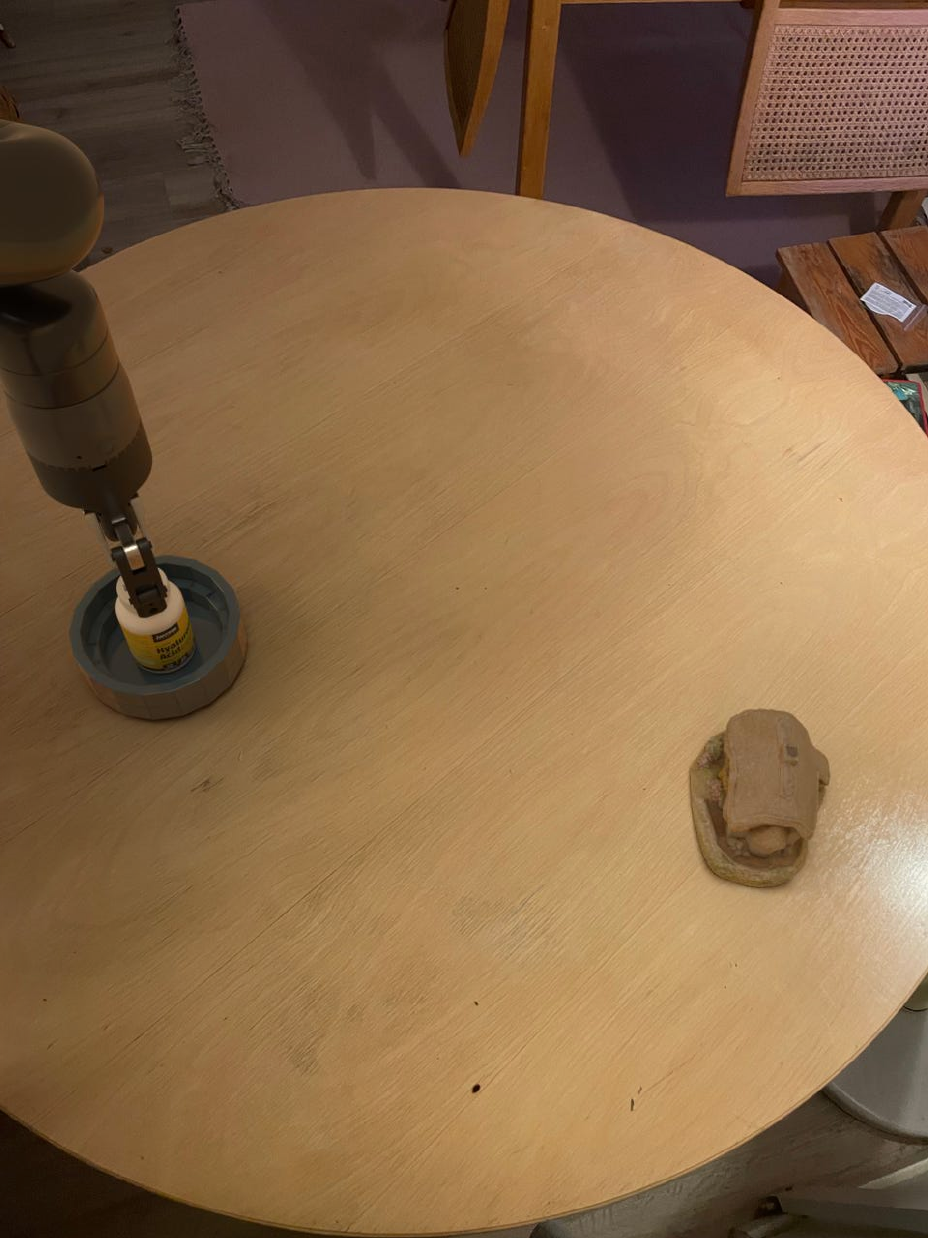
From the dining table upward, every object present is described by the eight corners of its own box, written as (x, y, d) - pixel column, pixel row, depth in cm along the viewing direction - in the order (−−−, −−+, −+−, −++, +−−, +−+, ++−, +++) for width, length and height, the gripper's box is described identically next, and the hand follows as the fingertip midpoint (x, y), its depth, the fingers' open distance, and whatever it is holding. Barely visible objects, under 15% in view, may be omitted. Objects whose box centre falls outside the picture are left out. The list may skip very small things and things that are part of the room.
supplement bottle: (169, 686, 88) (144, 623, 80) (120, 656, 89) (90, 592, 81) (210, 641, 90) (190, 575, 82) (162, 613, 92) (137, 545, 84)
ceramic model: (691, 719, 89) (720, 659, 81) (822, 742, 88) (865, 683, 80) (682, 876, 81) (713, 828, 73) (825, 902, 81) (873, 856, 72)
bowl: (101, 744, 86) (85, 716, 81) (74, 611, 93) (58, 578, 88) (264, 696, 89) (257, 667, 84) (226, 571, 96) (218, 537, 91)
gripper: (-7, 367, 69) (61, 521, 83) (50, 518, 62) (115, 659, 76) (104, 335, 71) (153, 490, 85) (171, 477, 64) (213, 621, 78)
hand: (135, 570), depth 80 cm, fingers open, 8 cm apart
